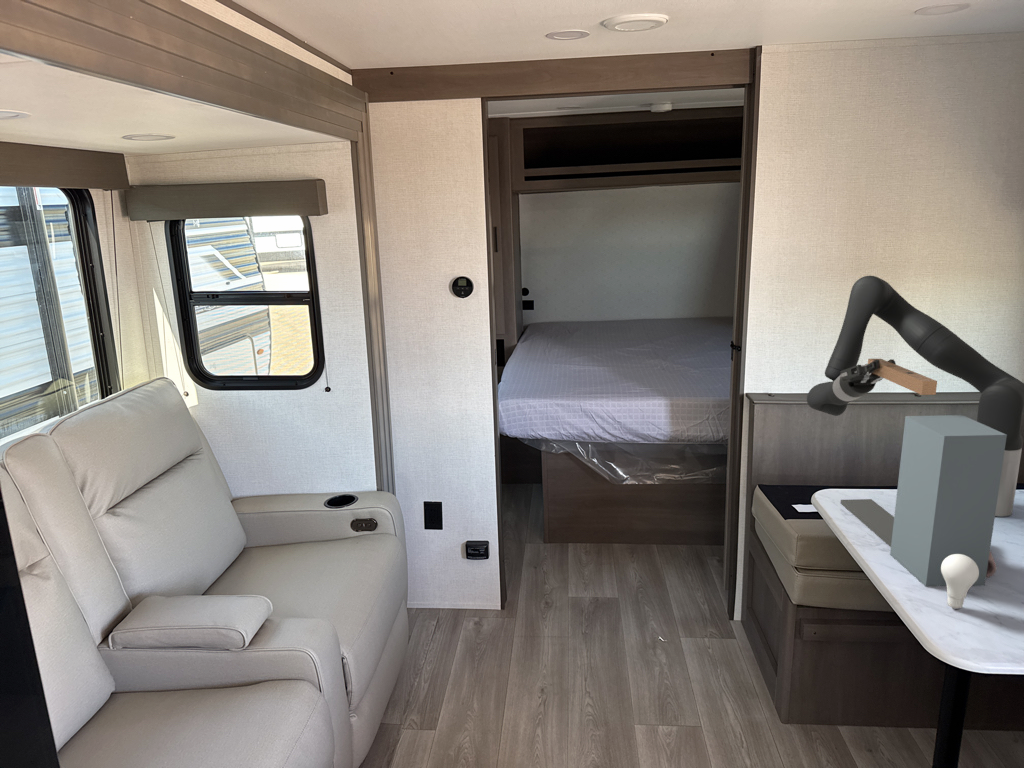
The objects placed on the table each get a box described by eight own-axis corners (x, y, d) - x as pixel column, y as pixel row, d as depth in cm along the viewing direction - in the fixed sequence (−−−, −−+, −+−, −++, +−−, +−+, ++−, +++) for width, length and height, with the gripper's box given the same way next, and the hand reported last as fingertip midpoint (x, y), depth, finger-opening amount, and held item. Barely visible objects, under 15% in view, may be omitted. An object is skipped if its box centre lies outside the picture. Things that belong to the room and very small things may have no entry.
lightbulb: (929, 600, 141) (935, 549, 138) (958, 598, 141) (965, 547, 138) (950, 617, 135) (957, 564, 132) (981, 615, 135) (988, 562, 132)
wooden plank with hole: (867, 370, 177) (868, 358, 176) (879, 370, 177) (880, 358, 176) (921, 395, 154) (923, 381, 153) (935, 394, 154) (937, 380, 153)
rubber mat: (840, 503, 188) (840, 499, 187) (871, 502, 188) (871, 499, 187) (892, 548, 162) (892, 544, 162) (927, 547, 162) (927, 543, 162)
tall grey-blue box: (890, 554, 159) (905, 416, 152) (944, 553, 159) (962, 415, 152) (925, 586, 146) (944, 436, 138) (984, 585, 146) (1006, 434, 138)
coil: (999, 561, 147) (985, 526, 163) (973, 555, 149) (961, 521, 165) (993, 581, 148) (980, 545, 164) (967, 575, 150) (956, 539, 166)
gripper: (824, 370, 189) (854, 349, 172) (877, 369, 189) (912, 347, 172) (828, 398, 186) (859, 379, 170) (882, 397, 186) (918, 377, 170)
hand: (885, 363), depth 171 cm, fingers closed on wooden plank with hole, 3 cm apart
